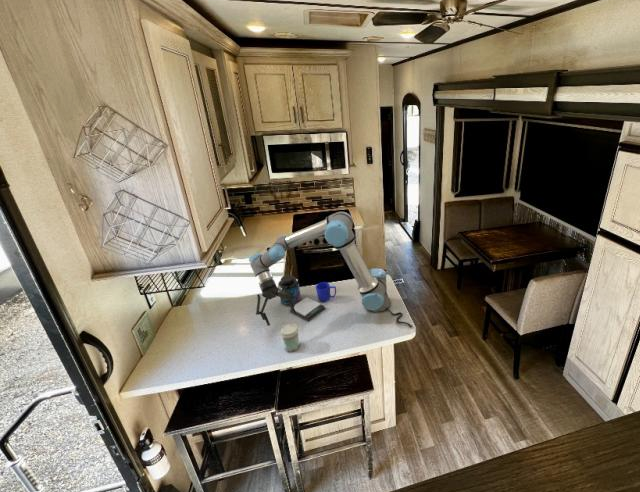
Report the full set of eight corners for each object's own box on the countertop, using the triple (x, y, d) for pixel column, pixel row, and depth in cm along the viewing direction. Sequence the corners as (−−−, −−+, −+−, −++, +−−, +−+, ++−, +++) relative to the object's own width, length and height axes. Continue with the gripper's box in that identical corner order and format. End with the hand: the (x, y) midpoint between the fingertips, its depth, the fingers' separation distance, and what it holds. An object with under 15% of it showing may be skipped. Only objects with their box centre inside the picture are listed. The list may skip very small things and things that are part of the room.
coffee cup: (302, 351, 164) (298, 332, 159) (284, 355, 161) (280, 336, 156) (300, 339, 171) (297, 321, 166) (283, 343, 168) (279, 325, 164)
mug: (335, 303, 198) (334, 289, 194) (316, 303, 199) (314, 289, 195) (338, 295, 206) (337, 281, 202) (319, 295, 206) (317, 281, 202)
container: (277, 299, 202) (274, 276, 196) (296, 293, 209) (294, 270, 203) (284, 309, 194) (281, 285, 188) (304, 302, 201) (302, 278, 195)
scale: (324, 309, 194) (324, 304, 192) (307, 321, 184) (307, 317, 183) (307, 300, 201) (306, 296, 200) (290, 312, 192) (289, 307, 190)
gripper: (287, 275, 182) (303, 310, 177) (240, 293, 167) (256, 331, 162) (290, 270, 176) (306, 307, 171) (241, 289, 161) (258, 329, 156)
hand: (282, 319), depth 167 cm, fingers open, 13 cm apart
